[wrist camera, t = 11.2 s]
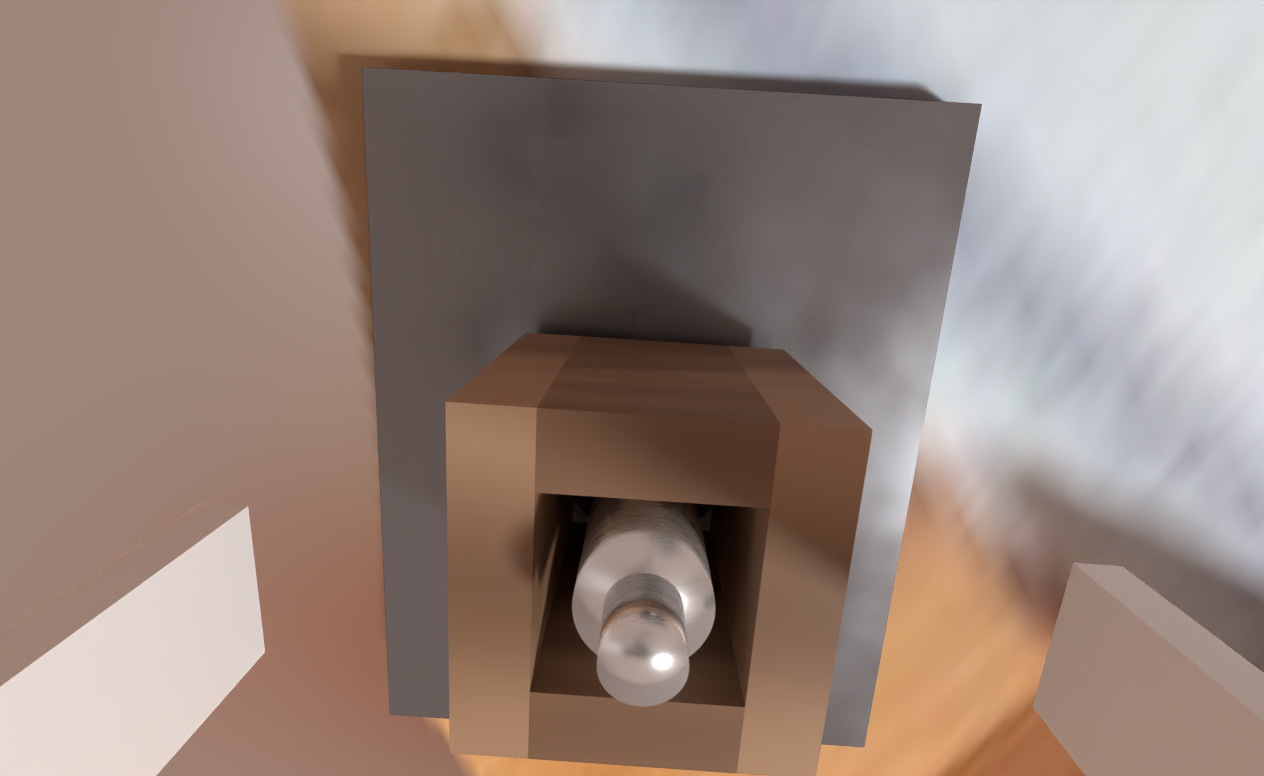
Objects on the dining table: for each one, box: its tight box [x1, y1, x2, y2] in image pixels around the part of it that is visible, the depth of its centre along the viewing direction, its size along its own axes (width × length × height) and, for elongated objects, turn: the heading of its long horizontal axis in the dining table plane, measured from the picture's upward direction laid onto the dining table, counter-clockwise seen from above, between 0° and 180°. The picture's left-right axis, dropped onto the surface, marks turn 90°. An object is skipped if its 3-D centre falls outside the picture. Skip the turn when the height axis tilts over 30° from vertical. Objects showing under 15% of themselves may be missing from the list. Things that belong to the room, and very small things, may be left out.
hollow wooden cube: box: [446, 333, 873, 776], centre depth 15 cm, size 7×7×7 cm
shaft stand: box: [362, 67, 982, 747], centre depth 15 cm, size 20×16×11 cm
